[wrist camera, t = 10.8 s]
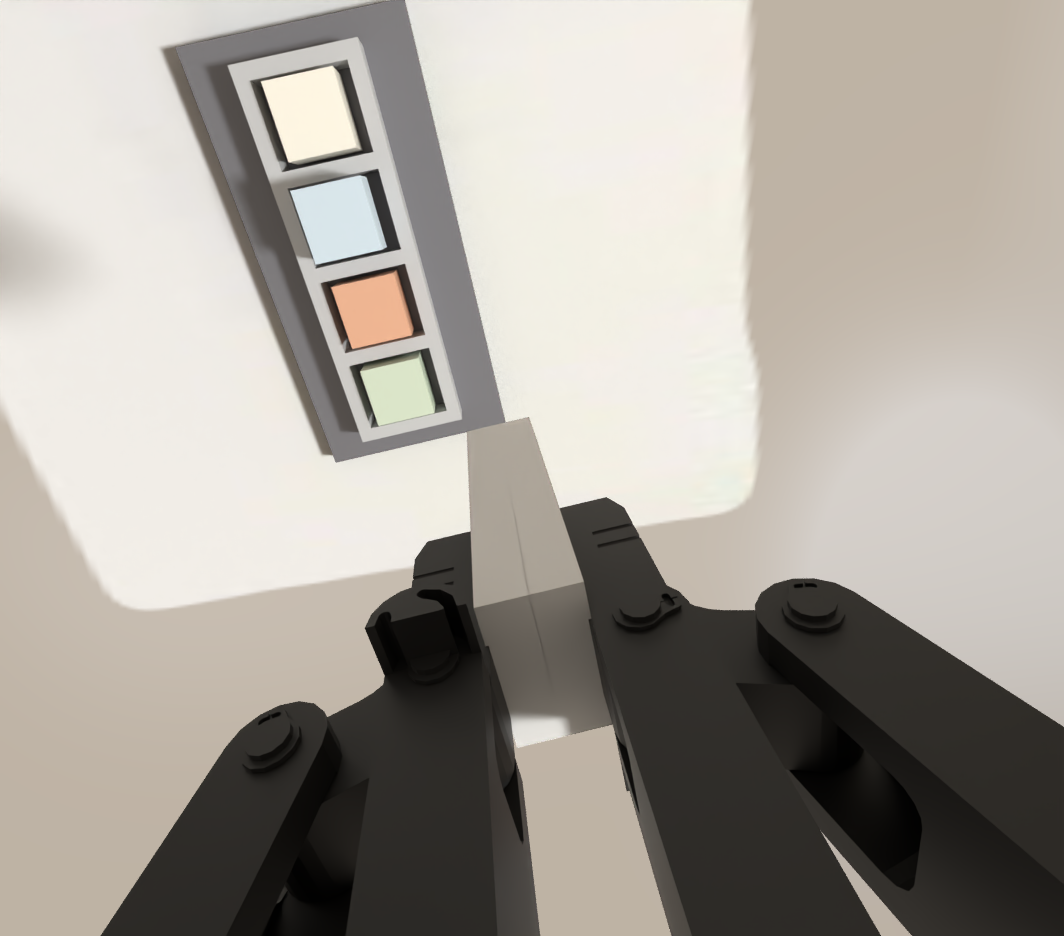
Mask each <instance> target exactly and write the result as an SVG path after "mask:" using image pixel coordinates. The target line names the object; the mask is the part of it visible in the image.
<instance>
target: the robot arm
mask: <svg viewBox="0 0 1064 936" xmlns="http://www.w3.org/2000/svg"><path fill="white" fill-rule="evenodd" d="M467 449H468V475H469V501H470V527H471V531H470V532H466V533H462V534H458V535H453V536H449V537H445V538H441V539H437V540H432V541H428V542H427V543H426V545H425V546H424V547H423V549H422V550H421V552H420V553H419V554H418V556H417V557H416V559H415V564H414V573H413V579H414V580H413V581H412V588H409V589H406V590H404V591H401V592H399V593H397V594H396V595H394V596H393V597H391V598H389V599H388V600H386V601H385V602H383V603H382V604H381V605H380V606H379V608H377V609H376V610H375V611H374V612H373V613H372V615H371V617H370V619H369V621H368V623H367V625H366V627H365V630H366V632H367V634H368V637H369V639H370V642H371V644H372V646H373V649H374V651H375V654H376V656H377V658H378V661H379V663H380V665H381V668H382V670H383V673H384V675H385V678H384V684H383V685H382V686H381V687H380V688H379V689H377V690H376V691H375V692H374V693H372V694H371V695H369V696H367V697H366V698H364V699H363V700H361V701H359V702H357V703H355V704H353V705H351V706H349V707H347V708H345V709H343V710H341V711H339V712H337V713H335V714H333V715H331V716H329V717H327V716H326V714H325V712H324V711H323V710H321V709H320V708H319V707H318V706H316V705H315V704H314V703H307V702H300V701H298V702H293V703H289V704H284V705H280V706H277V707H275V708H273V709H272V710H269V711H267V712H265V713H263V714H261V715H259V716H258V717H257V718H255V719H254V720H253V721H251V722H250V723H249V724H247V725H246V726H245V727H243V728H242V729H241V730H240V731H239V732H238V733H237V735H236V736H235V737H234V738H233V739H232V740H231V742H230V743H229V744H228V745H227V746H226V748H225V749H224V751H223V752H222V754H221V755H220V757H219V758H218V760H217V761H216V763H215V764H214V766H213V767H212V769H211V770H210V772H209V773H208V775H207V776H206V778H205V779H204V781H203V782H202V784H201V785H200V787H199V788H198V790H197V791H196V793H195V794H194V796H193V797H192V799H191V800H190V802H189V803H188V805H187V806H186V808H185V809H184V811H183V813H182V814H181V815H180V817H179V819H178V820H177V822H176V823H175V824H174V826H173V828H172V829H171V830H170V832H169V834H168V835H167V837H166V838H165V840H164V841H163V843H162V844H161V846H160V847H159V849H158V850H157V852H156V853H155V855H154V856H153V858H152V859H151V861H150V862H149V864H148V866H147V867H146V868H145V870H144V871H143V873H142V874H141V876H140V877H139V879H138V880H137V882H136V883H135V885H134V886H133V888H132V889H131V891H130V892H129V894H128V895H127V897H126V898H125V900H124V901H123V903H122V904H121V906H120V908H119V909H118V910H117V912H116V914H115V915H114V916H113V918H112V919H111V921H110V923H109V924H108V926H107V927H106V929H105V930H104V931H103V933H102V935H101V936H540V931H539V922H538V913H537V904H536V897H535V887H534V879H533V870H532V861H531V852H530V844H529V835H528V826H527V817H526V809H525V800H524V791H523V784H522V783H523V782H522V779H521V775H520V772H519V769H518V766H517V763H516V759H515V753H514V743H513V736H514V740H515V743H516V746H517V748H518V747H523V746H527V745H531V744H535V743H539V742H543V741H547V740H551V739H555V738H559V737H564V736H568V735H572V734H576V733H580V732H584V731H588V730H592V729H596V728H600V727H604V726H608V725H613V727H614V731H615V735H616V740H617V745H618V750H619V755H620V760H621V765H622V770H623V775H624V780H625V785H626V790H627V791H630V794H631V797H632V801H633V804H634V808H635V811H636V814H637V818H638V821H639V825H640V828H641V831H642V835H643V839H644V842H645V845H646V849H647V852H648V856H649V859H650V863H651V866H652V870H653V873H654V877H655V880H656V883H657V887H658V890H659V894H660V897H661V901H662V904H663V908H664V911H665V915H666V918H667V922H668V925H669V929H670V932H671V935H672V936H881V935H880V933H879V932H878V930H877V928H876V926H875V925H874V923H873V921H872V920H871V918H870V916H869V914H868V913H867V911H866V909H865V907H864V905H863V904H862V902H861V900H860V899H859V897H858V895H857V893H856V892H855V890H854V888H853V886H852V885H851V883H850V881H849V880H848V878H847V876H846V874H845V872H844V871H843V869H842V867H841V866H840V864H839V862H838V860H837V859H836V857H835V855H834V853H833V852H832V850H831V848H830V846H829V845H828V843H827V841H826V839H825V838H824V836H823V834H824V835H825V836H826V837H827V838H828V840H829V841H830V842H831V843H832V844H833V845H834V847H836V849H837V850H838V851H839V852H840V853H841V855H842V856H843V857H844V858H845V859H846V860H847V861H848V863H849V864H850V865H851V866H852V867H853V868H854V870H855V871H856V872H857V873H858V874H859V875H860V876H861V878H862V879H863V880H864V881H865V882H866V883H867V884H868V886H869V887H870V888H871V889H872V890H873V891H874V892H875V894H876V895H877V896H878V897H879V898H880V899H881V900H882V902H883V903H884V904H885V905H886V906H887V907H888V909H889V910H890V911H891V912H892V913H893V914H894V915H895V916H896V918H897V919H898V920H899V921H900V922H901V924H902V925H903V926H904V927H905V928H906V929H907V931H909V933H910V934H911V935H912V936H1064V727H1063V726H1062V725H1060V724H1058V723H1057V722H1055V721H1054V720H1052V719H1051V718H1049V717H1048V716H1046V715H1044V714H1043V713H1041V712H1040V711H1038V710H1037V709H1035V708H1034V707H1032V706H1030V705H1029V704H1027V703H1026V702H1024V701H1023V700H1021V699H1020V698H1018V697H1016V696H1015V695H1013V694H1012V693H1010V692H1009V691H1007V690H1006V689H1004V688H1003V687H1001V686H999V685H998V684H996V683H995V682H993V681H992V680H990V679H988V678H987V677H985V676H984V675H982V674H981V673H979V672H978V671H976V670H975V669H973V668H972V667H970V666H968V665H967V664H965V663H964V662H962V661H961V660H959V659H957V658H956V657H954V656H953V655H951V654H950V653H948V652H946V651H945V650H944V649H942V648H941V647H939V646H937V645H936V644H934V643H933V642H931V641H930V640H928V639H927V638H925V637H923V636H922V635H920V634H919V633H917V632H916V631H914V630H913V629H911V628H910V627H908V626H906V625H905V624H903V623H902V622H900V621H899V620H897V619H896V618H894V617H892V616H891V615H889V614H888V613H886V612H885V611H883V610H881V609H880V608H879V607H877V606H875V605H874V604H872V603H871V602H869V601H867V600H866V599H864V598H863V597H861V596H860V595H858V594H857V593H855V592H853V591H851V590H849V589H847V588H845V587H842V586H840V585H838V584H836V583H833V582H828V581H823V580H819V579H790V580H787V581H783V582H779V583H776V584H773V585H772V586H770V587H769V588H767V589H766V590H765V591H763V592H762V593H761V594H760V596H759V598H758V600H757V602H756V604H755V610H739V611H738V610H712V609H706V608H702V607H698V606H694V605H692V604H690V603H689V601H688V600H687V599H686V598H685V597H684V596H683V595H682V594H681V593H680V592H679V591H677V590H675V589H673V588H671V587H669V586H667V585H666V583H665V582H664V580H663V578H662V576H661V574H660V573H659V571H658V569H657V567H656V565H655V564H654V561H653V560H652V558H651V556H650V554H649V552H648V551H647V549H646V547H645V545H644V543H643V541H642V540H641V538H639V534H638V532H637V530H636V529H635V527H634V526H633V524H632V521H631V519H630V518H629V516H628V514H627V512H626V510H625V508H624V507H622V506H621V505H619V504H617V503H615V502H614V501H612V500H610V499H609V498H607V497H605V498H601V499H597V500H593V501H589V502H584V503H580V504H576V505H572V506H568V507H563V508H559V505H558V502H557V499H556V496H555V493H554V490H553V487H552V484H551V481H550V478H549V475H548V472H547V469H546V466H545V463H544V460H543V457H542V454H541V451H540V448H539V445H538V442H537V439H536V436H535V433H534V430H533V427H532V424H531V421H530V418H529V417H527V418H523V419H519V420H514V421H510V422H506V423H501V424H497V425H493V426H489V427H484V428H480V429H476V430H471V431H467ZM512 733H513V734H512ZM820 830H821V831H820ZM821 832H822V833H823V834H822V833H821Z"/></svg>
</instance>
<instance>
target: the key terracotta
mask: <svg viewBox="0 0 1064 936" xmlns="http://www.w3.org/2000/svg"><path fill="white" fill-rule="evenodd" d="M331 288H332V291H333V294H334V297H335V300H336V303H337V306H338V309H339V312H340V315H341V317H342V320H343V323H344V326H345V329H346V332H347V335H348V338H349V341H350V344H351V347H352V349H355V348H359V347H363V346H368V345H372V344H376V343H381V342H385V341H389V340H394V339H398V338H403V337H407V336H411V335H412V333H413V330H414V326H413V322H412V319H411V316H410V312H409V309H408V305H407V302H406V298H405V295H404V291H403V288H402V285H401V281H400V278H399V274H398V271H397V269H396V270H392V271H387V272H383V273H379V274H374V275H370V276H365V277H361V278H357V279H352V280H348V281H343V282H339V283H337V284H336V285H334V286H333V287H331Z"/></svg>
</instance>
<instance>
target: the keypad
mask: <svg viewBox="0 0 1064 936" xmlns="http://www.w3.org/2000/svg"><path fill="white" fill-rule="evenodd" d="M175 49H176V51H177V54H178V56H179V59H180V61H181V64H182V67H183V69H184V72H185V74H186V77H187V80H188V82H189V85H190V87H191V90H192V92H193V95H194V98H195V100H196V103H197V105H198V108H199V111H200V113H201V116H202V118H203V121H204V123H205V126H206V129H207V131H208V134H209V136H210V139H211V142H212V144H213V147H214V149H215V152H216V154H217V157H218V160H219V162H220V165H221V167H222V170H223V172H224V175H225V178H226V180H227V183H228V185H229V188H230V191H231V193H232V196H233V198H234V201H235V203H236V206H237V209H238V211H239V214H240V216H241V219H242V222H243V224H244V227H245V229H246V232H247V234H248V237H249V240H250V242H251V245H252V247H253V250H254V253H255V255H256V258H257V260H258V263H259V265H260V268H261V271H262V273H263V276H264V278H265V281H266V284H267V286H268V289H269V291H270V294H271V296H272V299H273V302H274V304H275V307H276V309H277V312H278V315H279V317H280V320H281V322H282V325H283V327H284V330H285V333H286V335H287V338H288V340H289V343H290V345H291V348H292V351H293V353H294V356H295V358H296V361H297V364H298V366H299V369H300V371H301V374H302V376H303V379H304V382H305V384H306V387H307V389H308V392H309V395H310V397H311V400H312V402H313V405H314V407H315V410H316V413H317V415H318V418H319V420H320V423H321V426H322V428H323V431H324V433H325V436H326V438H327V441H328V444H329V446H330V449H331V451H332V454H333V457H334V459H335V462H340V461H345V460H349V459H353V458H358V457H362V456H366V455H370V454H375V453H379V452H383V451H388V450H392V449H396V448H400V447H405V446H409V445H413V444H417V443H422V442H426V441H430V440H435V439H439V438H443V437H447V436H452V435H456V434H460V433H465V432H467V431H471V430H476V429H480V428H484V427H489V426H493V425H497V424H501V423H505V418H504V414H503V409H502V405H501V401H500V397H499V393H498V389H497V384H496V380H495V376H494V372H493V368H492V363H491V359H490V355H489V351H488V347H487V342H486V338H485V334H484V330H483V326H482V321H481V317H480V313H479V309H478V305H477V301H476V296H475V292H474V288H473V284H472V280H471V275H470V271H469V267H468V263H467V259H466V254H465V250H464V246H463V242H462V238H461V233H460V229H459V225H458V221H457V217H456V213H455V208H454V204H453V200H452V196H451V192H450V187H449V183H448V179H447V175H446V171H445V166H444V162H443V158H442V154H441V150H440V145H439V141H438V137H437V133H436V129H435V125H434V120H433V116H432V112H431V108H430V104H429V99H428V95H427V91H426V87H425V83H424V78H423V74H422V70H421V66H420V62H419V57H418V53H417V49H416V45H415V41H414V37H413V32H412V28H411V24H410V20H409V16H408V11H407V7H406V3H405V0H390V1H386V2H381V3H377V4H372V5H368V6H363V7H358V8H354V9H349V10H345V11H340V12H335V13H331V14H326V15H322V16H317V17H313V18H308V19H303V20H299V21H294V22H290V23H285V24H280V25H276V26H271V27H267V28H262V29H257V30H253V31H248V32H244V33H239V34H235V35H230V36H225V37H221V38H216V39H212V40H207V41H202V42H198V43H193V44H189V45H184V46H180V47H175ZM329 66H333V67H334V68H335V69H336V70H337V71H338V72H339V73H340V75H341V78H342V81H343V85H344V88H345V91H346V95H347V98H348V102H349V105H350V109H351V112H352V116H353V119H354V122H355V126H356V129H357V133H358V136H359V140H360V143H361V147H362V150H363V151H359V152H355V153H350V154H346V155H341V156H337V157H332V158H328V159H323V160H319V161H314V162H310V163H305V164H301V165H297V164H293V163H289V162H288V159H287V156H286V153H285V150H284V148H283V145H282V142H281V139H280V136H279V133H278V130H277V127H276V124H275V121H274V118H273V115H272V112H271V110H270V107H269V104H268V101H267V98H266V95H265V92H264V89H263V86H262V83H261V81H265V80H270V79H275V78H279V77H284V76H288V75H293V74H297V73H302V72H306V71H311V70H315V69H320V68H325V67H329ZM359 175H361V176H364V177H367V181H368V184H369V187H370V191H371V194H372V198H373V201H374V205H375V208H376V211H377V215H378V218H379V222H380V225H381V228H382V232H383V235H384V239H385V242H386V246H387V247H386V248H384V249H383V250H379V251H374V252H370V253H365V254H361V255H356V256H352V257H348V258H343V259H339V260H334V261H330V262H326V263H321V264H317V265H316V264H315V261H314V258H313V255H312V252H311V249H310V246H309V244H308V241H307V238H306V235H305V232H304V229H303V226H302V223H301V221H300V218H299V215H298V212H297V209H296V206H295V203H294V200H293V197H292V195H291V192H290V191H292V190H297V189H301V188H306V187H310V186H315V185H319V184H324V183H328V182H332V181H337V180H341V179H346V178H350V177H355V176H359ZM396 269H397V271H398V274H399V278H400V281H401V285H402V288H403V291H404V295H405V298H406V302H407V305H408V309H409V312H410V316H411V319H412V322H413V326H414V330H413V333H412V335H411V336H407V337H403V338H398V339H394V340H389V341H385V342H381V343H376V344H372V345H368V346H363V347H359V348H355V349H352V347H351V344H350V341H349V338H348V335H347V332H346V329H345V326H344V323H343V320H342V317H341V315H340V312H339V309H338V306H337V303H336V300H335V297H334V294H333V291H332V288H331V287H333V286H334V285H336V284H337V283H339V282H343V281H348V280H352V279H357V278H361V277H365V276H370V275H374V274H379V273H383V272H387V271H392V270H396ZM418 350H421V354H422V357H423V360H424V364H425V367H426V371H427V374H428V378H429V381H430V385H431V388H432V391H433V395H434V398H435V402H436V404H435V413H433V414H428V415H424V416H420V417H415V418H411V419H407V420H403V421H398V422H394V423H390V424H385V425H381V426H378V423H377V420H376V417H375V414H374V411H373V408H372V405H371V402H370V399H369V397H368V394H367V391H366V388H365V385H364V382H363V379H362V376H361V373H360V371H361V369H362V367H363V366H364V364H365V362H370V361H374V360H379V359H383V358H387V357H392V356H396V355H400V354H405V353H409V352H413V351H418Z"/></svg>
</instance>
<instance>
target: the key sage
mask: <svg viewBox="0 0 1064 936" xmlns="http://www.w3.org/2000/svg"><path fill="white" fill-rule="evenodd" d="M360 373H361V376H362V379H363V382H364V385H365V388H366V391H367V394H368V397H369V399H370V402H371V405H372V408H373V411H374V414H375V417H376V420H377V423H378V426H381V425H385V424H390V423H394V422H398V421H403V420H407V419H411V418H415V417H420V416H424V415H428V414H433V413H435V404H436V402H435V398H434V395H433V391H432V388H431V385H430V381H429V378H428V374H427V371H426V367H425V364H424V360H423V357H422V354H421V350H418V351H413V352H409V353H405V354H400V355H396V356H392V357H387V358H383V359H379V360H374V361H370V362H365V364H364V366H363V367H362V369H361V371H360Z"/></svg>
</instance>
